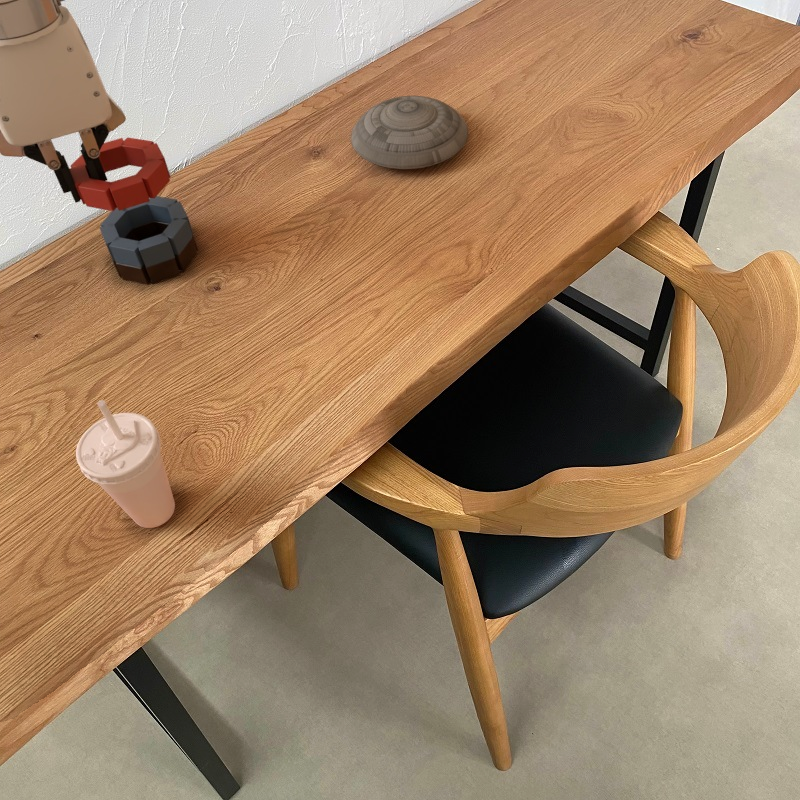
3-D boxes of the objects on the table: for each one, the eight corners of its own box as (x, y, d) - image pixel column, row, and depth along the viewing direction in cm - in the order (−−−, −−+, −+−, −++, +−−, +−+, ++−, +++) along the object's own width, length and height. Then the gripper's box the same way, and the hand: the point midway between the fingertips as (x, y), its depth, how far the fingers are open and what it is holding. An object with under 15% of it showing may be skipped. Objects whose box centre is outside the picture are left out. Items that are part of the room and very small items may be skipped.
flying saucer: (379, 192, 96) (375, 152, 92) (334, 131, 105) (329, 93, 101) (489, 156, 99) (490, 116, 95) (436, 101, 108) (435, 62, 104)
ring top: (89, 220, 79) (80, 200, 77) (72, 174, 85) (63, 154, 83) (178, 192, 81) (172, 172, 80) (156, 149, 87) (149, 129, 85)
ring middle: (119, 277, 85) (111, 259, 84) (101, 229, 91) (93, 212, 89) (201, 248, 88) (195, 231, 86) (178, 204, 93) (172, 187, 91)
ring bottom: (126, 293, 87) (118, 277, 85) (107, 246, 93) (100, 230, 91) (206, 265, 89) (200, 249, 88) (183, 221, 95) (178, 204, 93)
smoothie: (204, 492, 70) (157, 390, 59) (162, 552, 66) (103, 455, 56) (146, 469, 72) (89, 366, 61) (101, 526, 68) (33, 427, 58)
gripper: (94, -28, 72) (153, 151, 86) (-89, 15, 68) (4, 196, 82) (112, 2, 68) (171, 187, 82) (-83, 50, 64) (15, 235, 78)
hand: (87, 190), depth 82 cm, fingers closed on ring top, 1 cm apart
